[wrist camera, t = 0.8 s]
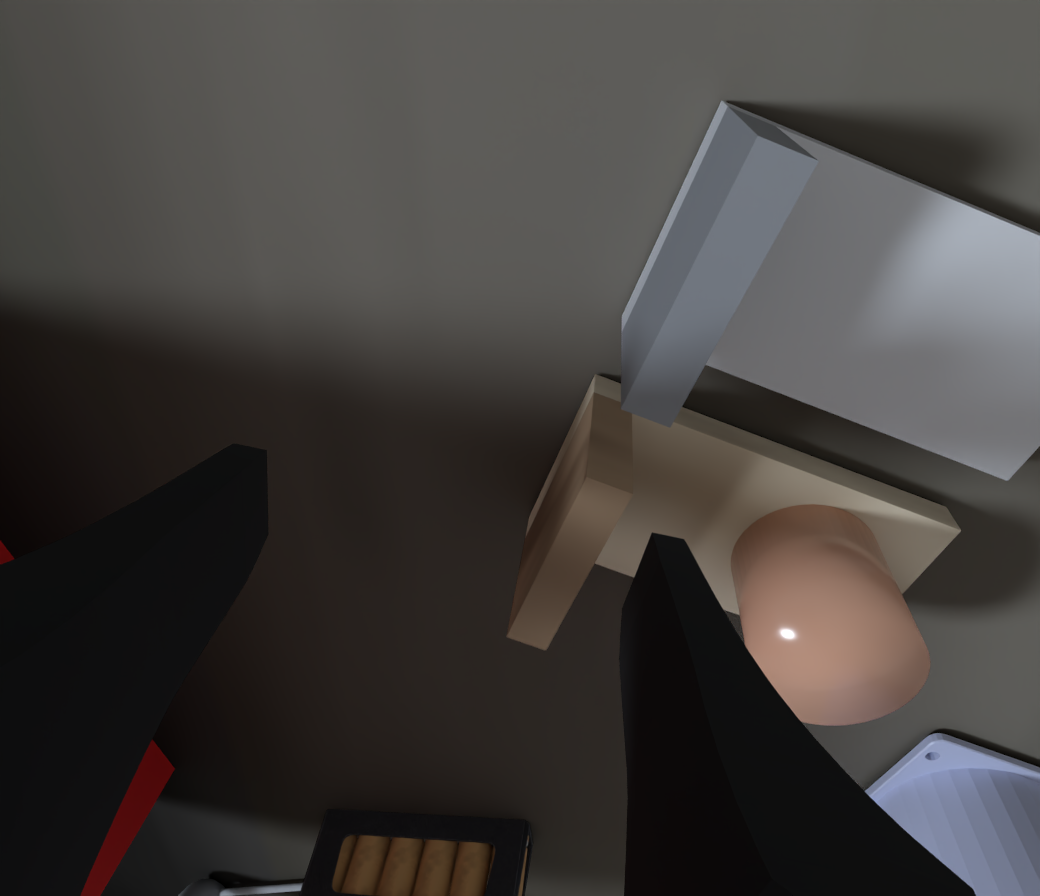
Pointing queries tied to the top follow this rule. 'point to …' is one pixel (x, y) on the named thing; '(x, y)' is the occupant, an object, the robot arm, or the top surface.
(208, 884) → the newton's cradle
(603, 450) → the tan notched piece
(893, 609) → the canister
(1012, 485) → the top surface
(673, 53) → the top surface
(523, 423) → the top surface
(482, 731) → the top surface
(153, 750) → the book
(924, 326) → the pale blue block
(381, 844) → the cigar case
